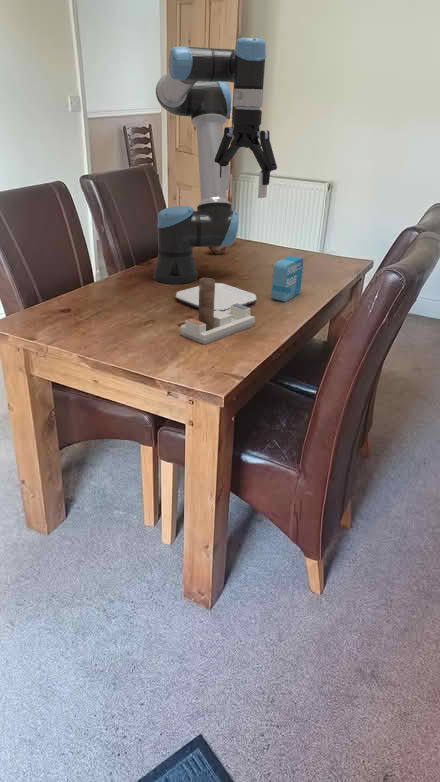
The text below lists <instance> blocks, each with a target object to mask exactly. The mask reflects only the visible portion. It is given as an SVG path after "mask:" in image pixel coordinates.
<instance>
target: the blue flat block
mask: <svg viewBox="0 0 440 782" xmlns="http://www.w3.org/2000/svg"><path fill="white" fill-rule="evenodd" d="M303 268H304V259H303V258H302V257H297V256H292V255H289V256H286V257H284V258H281V259H280V260H277V261H276V262H275V263H274V265H273V271H272V272H273V273H272V283H271V284H272V285H271V299H272V300H276V301H280V302H284V303H285V302H287V301H290V300H291V299H293V298H294V297H297V296H298V295H299V294H300V292H301V287H302V280H303V278H302V277H303V270H304V269H303Z"/></svg>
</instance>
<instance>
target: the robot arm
mask: <svg viewBox="0 0 440 782" xmlns="http://www.w3.org/2000/svg"><path fill="white" fill-rule="evenodd" d="M168 57H169V58H168V70H169V71H168V72H167V73H165V74H164V75H163V76H161V77H160V78H159V79H158V82H157V84H156V86H155V96H156V99H157V102H158V104H159V105H160V106H161V107H162V108H163V109H164V110H165V111H167V112H168V113H170V114H172V115H175V116H178V117H179V116H180V117H190V119H191V125H193V126H194V127H195V128H196V142H197V155H198V156H197V158H198V173H199V187H200V189H199V190H200V202H199V203H198V204H197V206H196V210H194V208H193V207H192V206H190V205H184V206H183V205H175V206H170V207H166V208H164V209H162V210H160V211H159V213H158V214H157V224H156V226H157V248H158V249H157V253H158V254H157V258H156V263H155V268H154V269H153V279H154V280H155V281H158V282H159V283H164V284H173V285H174V284H176V285H178V284H179V285H181V284H189V283H192V282H195V281H196V280H197V279H198V270H197V267H196V262H195V259H194V256H193V251H194V250H193V249H194V248H208V247H214V246H218V247H221V246H227V247H229V246H232V245H233V244H234V242H235V240H236V237H237V233H238V227H239V217H238V212H237V211H236V210H234V209H233V208H232V203H231V202H230V201H229V200H228V199H227V192H229V191H230V185H231V184H230V179H231V178H230V177H231V166H230V164H229V163H230V162H231V160H232V159H233V158H234V157H235V155H236V153H237V151H238V150H239V149H240V148H245V149H249V150H250V151H251V152H252V153H253V156H254V158H255V159H256V161H257V164H258V165H259V167H260V169H261V171H260V172H259V173H258V192H257V199H264V198H267V193H268V192H267V190H268V186H269V184H270V180H271V179H270V177H271V172H272V171H276V170H278V165H277V163H276V158H275V154H274V151H273V148H272V144H271V141H270V131H269V130H268V129H267V130H260V127H261V125H262V115H263V114H262V113H263V112H262V110H261V109H260V108H262V107H263V100H264V84H265V82H264V80H265V69H266V68H265V67H266V58H267V53H266V41H265V39H263V38H257V37H240V38H239V37H238V38H237V39H236V41H235V48H234V49H233V48H232V49H231V48H217V47H216V48H214V47H212V48H211V47H197V46H195V47H194V46H186V45H182V46H173V47H171V49H170V50H169V55H168ZM228 83H233V101H232V95H231V90H230V88H229V87H230V86H229V84H228ZM232 102H233V103H232ZM232 105H233V107H235V108H234V109H233V110H232ZM231 111H232V112H231ZM231 113H232V122H231V123H232V124H233V125H234V126H226V127H224V129H223V126H224V125H225V124H226V122H227V118H229V116H230V115H231Z"/></svg>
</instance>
